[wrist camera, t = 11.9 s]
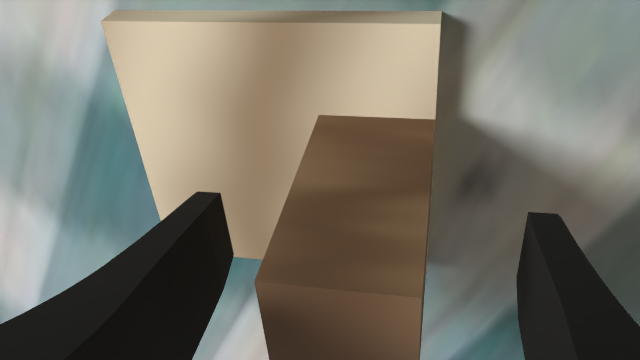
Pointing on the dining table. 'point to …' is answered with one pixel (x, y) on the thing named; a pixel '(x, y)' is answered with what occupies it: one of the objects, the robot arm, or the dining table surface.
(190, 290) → the robot arm
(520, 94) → the dining table surface
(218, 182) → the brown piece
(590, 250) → the dining table surface
